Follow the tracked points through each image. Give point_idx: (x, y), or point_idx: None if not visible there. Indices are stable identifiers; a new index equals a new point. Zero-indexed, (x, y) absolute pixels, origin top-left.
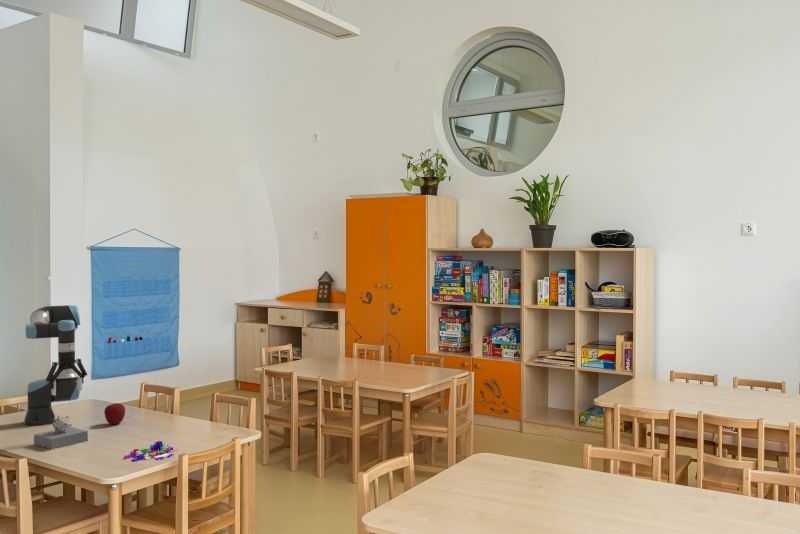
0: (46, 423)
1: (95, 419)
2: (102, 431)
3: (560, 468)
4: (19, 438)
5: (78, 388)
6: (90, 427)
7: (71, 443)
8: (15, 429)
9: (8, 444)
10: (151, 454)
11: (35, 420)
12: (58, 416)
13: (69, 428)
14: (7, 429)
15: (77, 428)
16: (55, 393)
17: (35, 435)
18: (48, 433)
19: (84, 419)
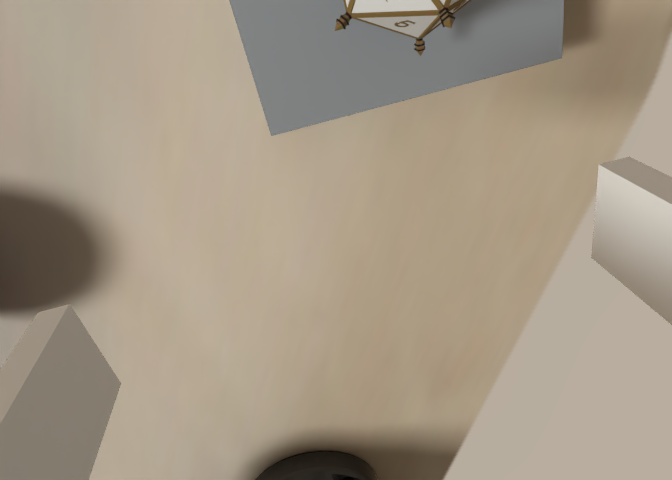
0: (299, 455)
1: None
2: (19, 94)
3: None
4: (500, 264)
5: (101, 393)
6: (99, 269)
7: None
8: (436, 429)
9: None
10: None
11: (350, 475)
12: (448, 12)
13: (290, 64)
14: (458, 444)
15: (231, 6)
16: (635, 174)
17: (560, 33)
18: (480, 2)
19: (112, 450)
